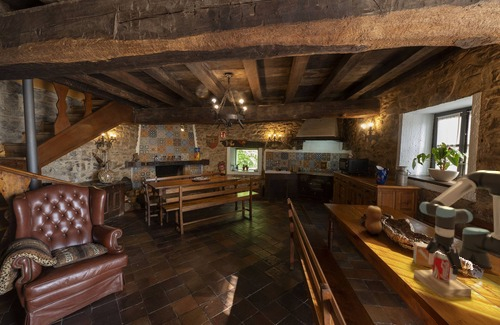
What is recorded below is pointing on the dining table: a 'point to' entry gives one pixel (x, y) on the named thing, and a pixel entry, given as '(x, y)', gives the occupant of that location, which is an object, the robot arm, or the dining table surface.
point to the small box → (421, 254)
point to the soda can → (441, 268)
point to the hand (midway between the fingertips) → (441, 271)
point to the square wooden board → (442, 285)
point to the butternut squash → (373, 219)
